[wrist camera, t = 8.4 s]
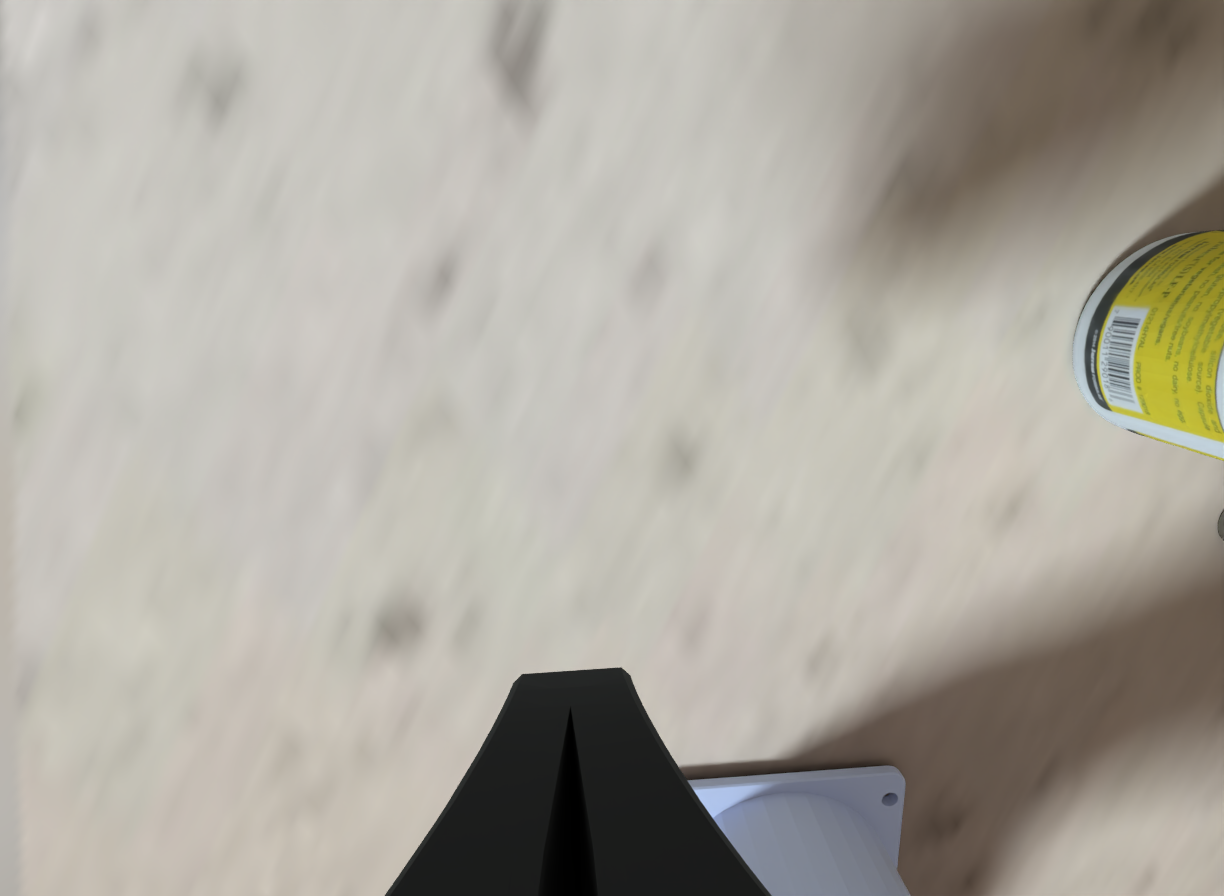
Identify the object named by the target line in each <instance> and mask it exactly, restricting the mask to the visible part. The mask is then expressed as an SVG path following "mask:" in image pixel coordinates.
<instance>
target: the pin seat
mask: <svg viewBox="0 0 1224 896" xmlns="http://www.w3.org/2000/svg"><path fill="white" fill-rule="evenodd" d="M1218 532H1219V535H1220V537H1221V538H1222V540H1223V541H1224V511H1223V513H1222V515H1221V517H1220V519H1219V523H1218Z"/></svg>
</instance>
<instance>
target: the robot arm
mask: <svg viewBox="0 0 1224 896" xmlns="http://www.w3.org/2000/svg"><path fill="white" fill-rule="evenodd" d="M905 787H906V783H905V779H904V777H903V775H902V774H901V772H900V771H899V770H898V768H896V767H894V766H888V765H887V766H874V767H860V768H847V769H834V770H820V771H807V772H794V773H780V774H767V775H754V776H740V777H727V778H714V779H700V780H687V779H686V778H685V776H684V775H683V773H682V772H681V770H680V769H679V767H678V766H677V764H676V763H675V761H674V759H673V758H672V756H671V755H670V753H669V751H668V750H667V748H666V746H665V745H664V743H663V741H662V740H661V738H660V736H659V734H658V733H657V731H656V729H655V727H654V725H653V724H652V722H651V720H650V718H649V716H648V714H647V713H646V711H645V709H644V707H643V705H642V703H641V701H640V698H639V696H638V694H637V692H636V690H635V687H634V685H633V682H632V679H631V676H630V675H629V674H628V673H627V672H626V671H625V670H623V669H622V668H607V669H592V670H577V671H563V672H548V673H533V674H522V675H521V676H520V677H519V678H518V679H517V680H516V681H515V682H514V683H513V686H512V688H511V690H510V693H509V695H508V697H507V699H506V701H505V703H504V705H503V707H502V709H501V711H500V713H499V715H498V717H497V719H496V721H495V723H494V725H493V727H492V729H491V731H490V732H489V734H488V736H487V738H486V740H485V741H484V743H483V745H482V747H481V749H480V751H479V752H478V754H477V756H476V757H475V759H474V761H473V762H472V764H471V766H470V767H469V769H468V771H467V772H466V774H465V776H464V777H463V779H462V781H461V782H460V784H459V785H458V787H457V789H456V790H455V792H454V794H453V795H452V797H451V799H450V800H449V802H448V804H447V805H446V807H445V808H444V810H443V811H442V813H441V815H440V816H439V818H438V819H437V821H436V822H435V824H434V825H433V827H432V828H431V829H430V831H429V832H428V834H427V835H426V837H425V838H424V840H423V841H422V843H421V844H420V846H419V847H418V848H417V850H416V851H415V853H414V854H413V856H412V857H411V859H410V860H409V862H408V863H407V864H406V866H405V867H404V869H403V870H402V872H401V873H400V875H399V876H398V878H397V879H396V880H395V882H394V883H393V885H392V886H391V888H390V889H389V890H388V892H387V893H386V895H385V896H911V895H910V893H909V892H908V890H907V888H906V886H905V884H904V882H903V880H902V879H901V877H900V875H899V873H898V871H897V866H898V856H899V846H900V836H901V826H902V816H903V806H904V796H905ZM887 793H890V794H889V795H888V796H884V795H886V794H887ZM883 796H884V797H883Z"/></svg>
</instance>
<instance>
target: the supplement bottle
mask: <svg viewBox="0 0 1224 896" xmlns="http://www.w3.org/2000/svg"><path fill="white" fill-rule="evenodd" d="M1073 369H1074V374H1075V378H1076V381H1077V384H1078V386H1079V389H1080V391H1081V393H1082V395H1083V396H1084V398H1085V399H1086V401H1087V402H1088V404H1089V405H1090V406H1091V407H1092V408H1093V409H1094V410H1095V412H1097V413H1098V414H1099V415H1100V416H1101V417H1103V418H1104V419H1105V420H1107V421H1109V422H1110V423H1112V424H1114V425H1116V426H1119V427H1121V428H1123V429H1125V430H1128V431H1131V432H1133V433H1136V434H1139V435H1143V436H1146V437H1149V438H1152V439H1155V440H1158V441H1161V442H1164V443H1168V444H1171V445H1174V446H1177V447H1181V448H1184V449H1187V450H1190V451H1194V452H1197V453H1200V454H1203V455H1207V456H1210V457H1213V458H1216V459H1219V460H1223V461H1224V230H1217V231H1205V232H1192V233H1184V234H1179V235H1175V236H1170V237H1167V238H1164V239H1161V240H1159V241H1156V242H1153V243H1151V244H1149V245H1147V246H1145V247H1143V248H1141V249H1140V250H1138V251H1136V252H1135V253H1133V254H1132V255H1130V256H1129V257H1127V258H1126V259H1125V260H1123V261H1122V262H1121V263H1120V264H1118V265H1117V266H1116V267H1115V268H1114V269H1113V270H1112V271H1111V272H1110V273H1109V274H1108V275H1107V276H1106V277H1105V278H1104V279H1103V281H1102V282H1101V283H1100V284H1099V286H1098V287H1097V288H1096V290H1095V291H1094V292H1093V294H1092V295H1091V297H1090V298H1089V300H1088V302H1087V303H1086V305H1085V307H1084V310H1083V312H1082V314H1081V317H1080V319H1079V322H1078V325H1077V328H1076V332H1075V336H1074V343H1073Z"/></svg>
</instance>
